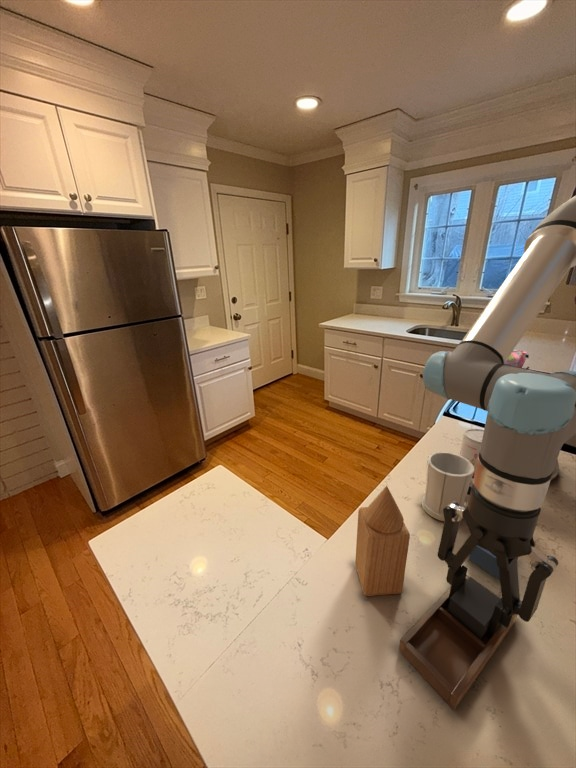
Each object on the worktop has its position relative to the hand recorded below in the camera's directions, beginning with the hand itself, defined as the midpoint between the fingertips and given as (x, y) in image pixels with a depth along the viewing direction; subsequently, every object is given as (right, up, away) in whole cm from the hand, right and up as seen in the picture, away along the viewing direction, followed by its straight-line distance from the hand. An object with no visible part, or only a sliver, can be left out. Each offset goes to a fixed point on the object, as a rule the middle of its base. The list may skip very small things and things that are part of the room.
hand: (473, 615), depth 49 cm
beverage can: (+15, +10, +27) cm, 33 cm away
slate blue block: (+9, +3, +10) cm, 13 cm away
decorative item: (-13, +1, +7) cm, 15 cm away
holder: (-3, -2, -2) cm, 4 cm away
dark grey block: (0, 0, 0) cm, 0 cm away
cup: (+7, +8, +22) cm, 24 cm away
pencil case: (+79, +45, +113) cm, 145 cm away
